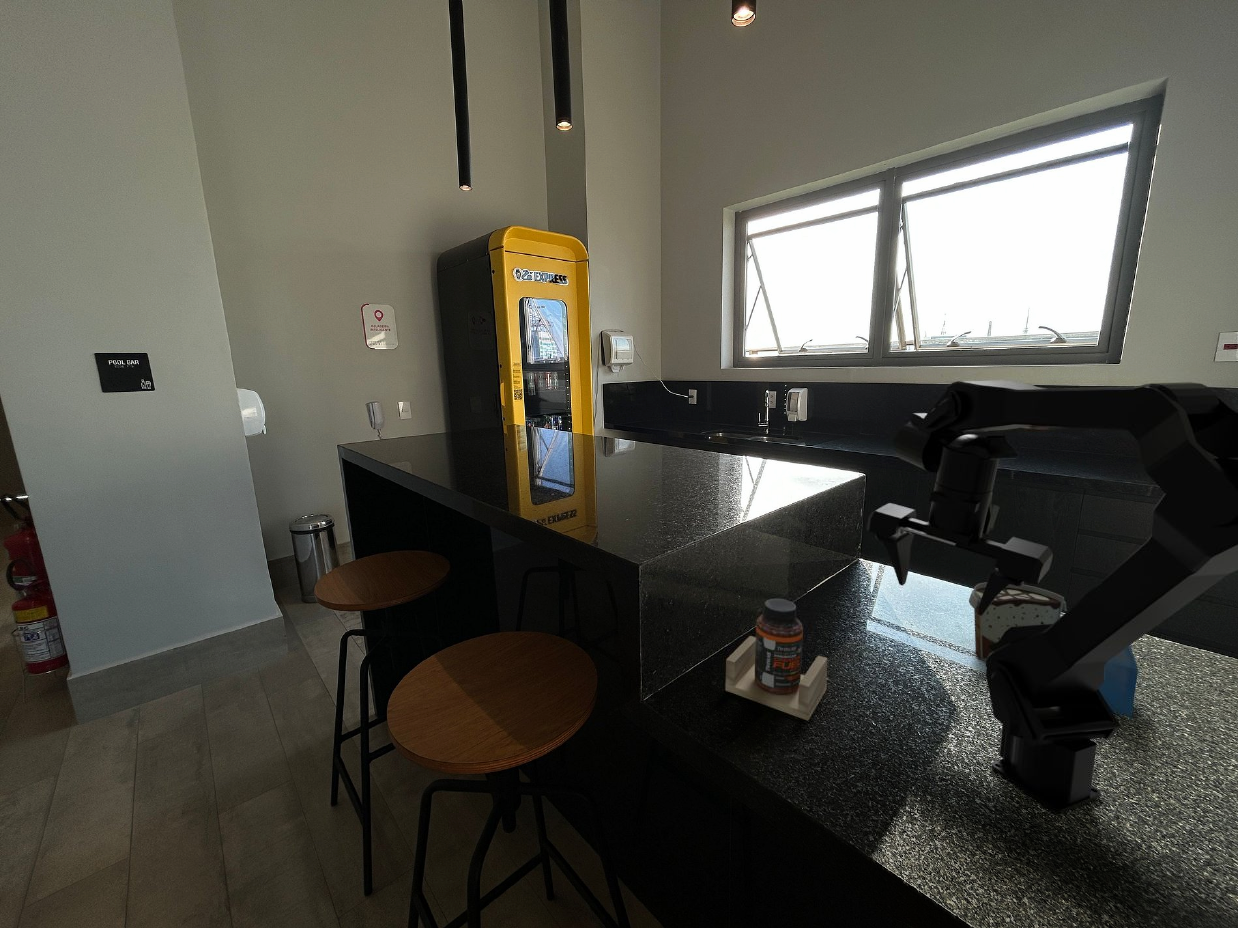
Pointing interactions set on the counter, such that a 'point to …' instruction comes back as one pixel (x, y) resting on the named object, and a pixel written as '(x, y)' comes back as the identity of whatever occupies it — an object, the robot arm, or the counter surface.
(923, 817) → the counter surface
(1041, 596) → the food container
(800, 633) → the supplement bottle
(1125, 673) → the perfume bottle
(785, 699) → the cradle
